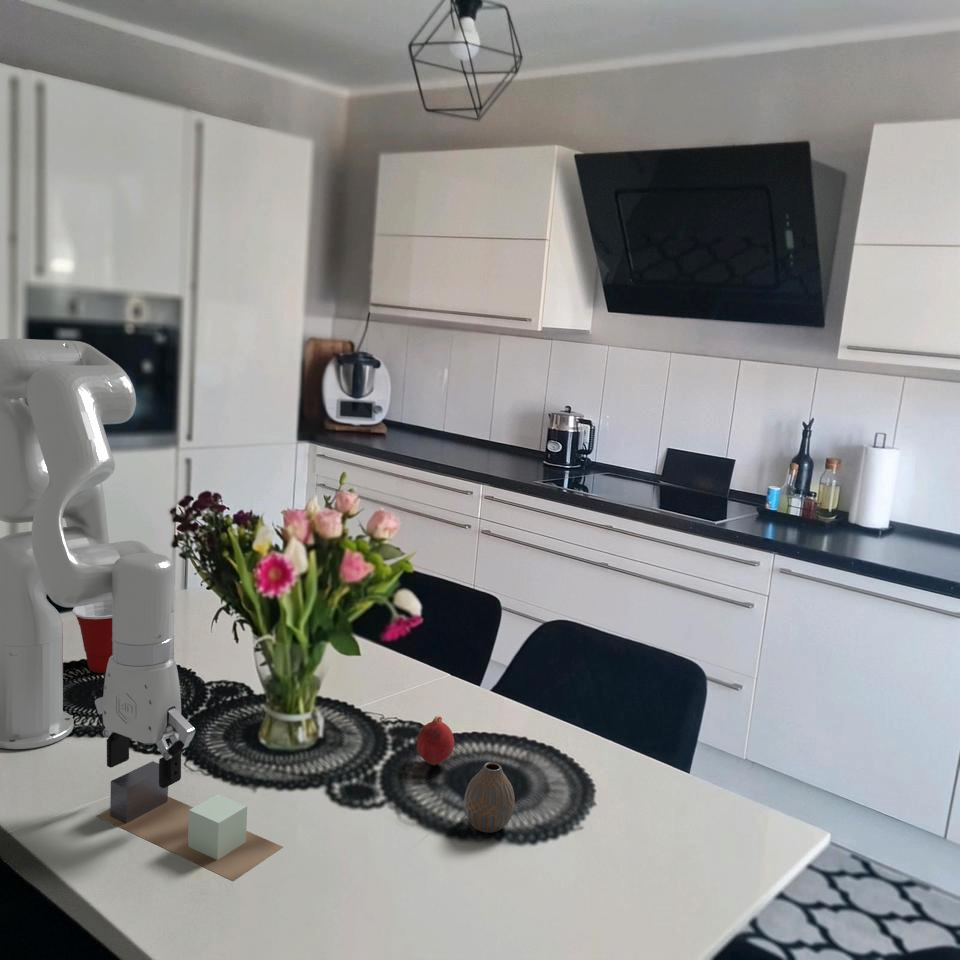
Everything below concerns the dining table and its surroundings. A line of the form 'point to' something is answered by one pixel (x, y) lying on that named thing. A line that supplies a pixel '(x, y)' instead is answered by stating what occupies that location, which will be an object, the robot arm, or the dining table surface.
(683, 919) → the dining table surface
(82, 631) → the plastic cup
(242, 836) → the sage block
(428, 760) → the red pomegranate
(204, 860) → the board with grey block
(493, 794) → the vase
